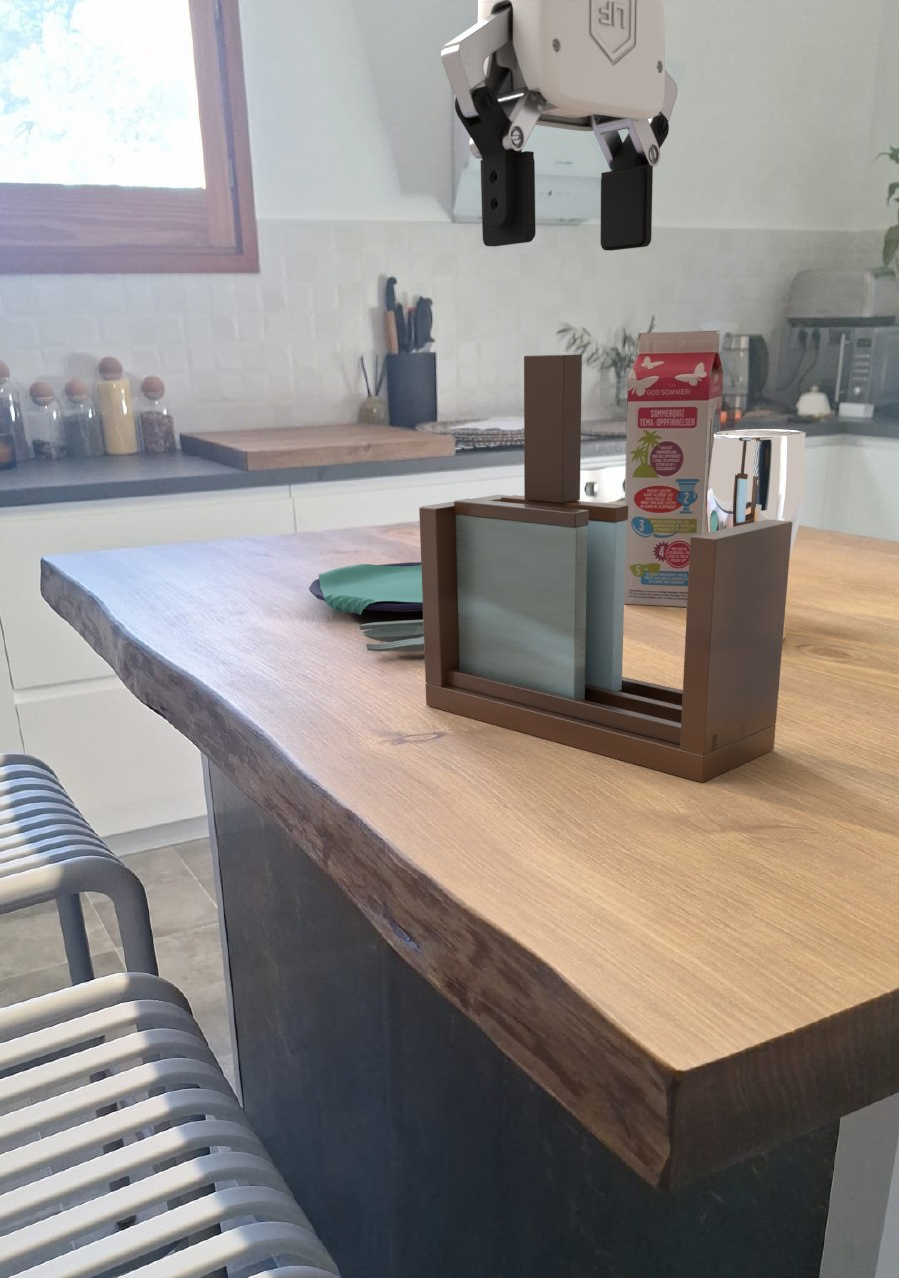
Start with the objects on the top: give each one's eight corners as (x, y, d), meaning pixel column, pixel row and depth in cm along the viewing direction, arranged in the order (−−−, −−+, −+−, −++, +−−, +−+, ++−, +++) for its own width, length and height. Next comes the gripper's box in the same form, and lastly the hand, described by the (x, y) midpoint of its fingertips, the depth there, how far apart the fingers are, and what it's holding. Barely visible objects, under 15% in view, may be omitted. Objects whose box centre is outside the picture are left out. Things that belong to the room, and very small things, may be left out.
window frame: (500, 682, 78) (498, 489, 73) (774, 749, 63) (793, 515, 59) (425, 705, 73) (418, 501, 68) (702, 783, 59) (716, 532, 54)
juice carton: (638, 589, 106) (646, 333, 97) (710, 592, 103) (725, 330, 95) (621, 603, 100) (629, 333, 92) (697, 607, 98) (712, 330, 89)
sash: (517, 664, 74) (515, 355, 67) (625, 689, 68) (635, 353, 61) (500, 669, 73) (496, 356, 66) (608, 695, 67) (617, 353, 60)
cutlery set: (507, 576, 113) (507, 553, 112) (584, 648, 86) (585, 618, 85) (307, 587, 111) (305, 563, 110) (319, 665, 83) (317, 634, 82)
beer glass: (679, 637, 88) (689, 434, 82) (733, 622, 92) (746, 427, 87) (756, 652, 83) (772, 437, 78) (809, 635, 87) (828, 430, 82)
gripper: (503, -221, 47) (512, 234, 54) (734, -125, 58) (719, 244, 65) (385, -161, 53) (405, 249, 59) (617, -83, 64) (614, 255, 70)
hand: (570, 246), depth 62 cm, fingers open, 9 cm apart
